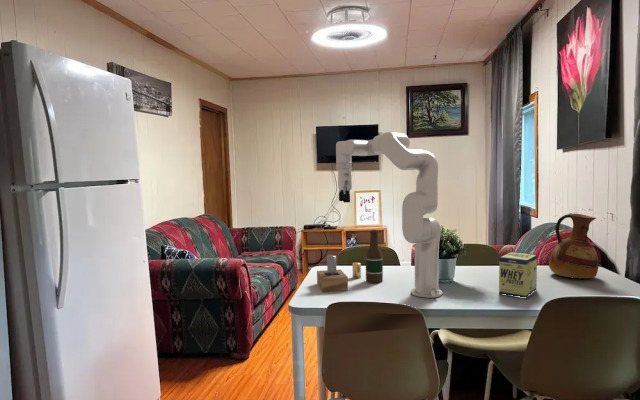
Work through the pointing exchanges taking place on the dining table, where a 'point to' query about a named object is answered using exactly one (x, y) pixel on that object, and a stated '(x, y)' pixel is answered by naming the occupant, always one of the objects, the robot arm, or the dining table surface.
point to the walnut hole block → (332, 281)
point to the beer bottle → (374, 260)
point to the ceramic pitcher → (574, 250)
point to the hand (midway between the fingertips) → (344, 201)
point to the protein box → (517, 274)
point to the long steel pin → (331, 265)
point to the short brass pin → (356, 270)
